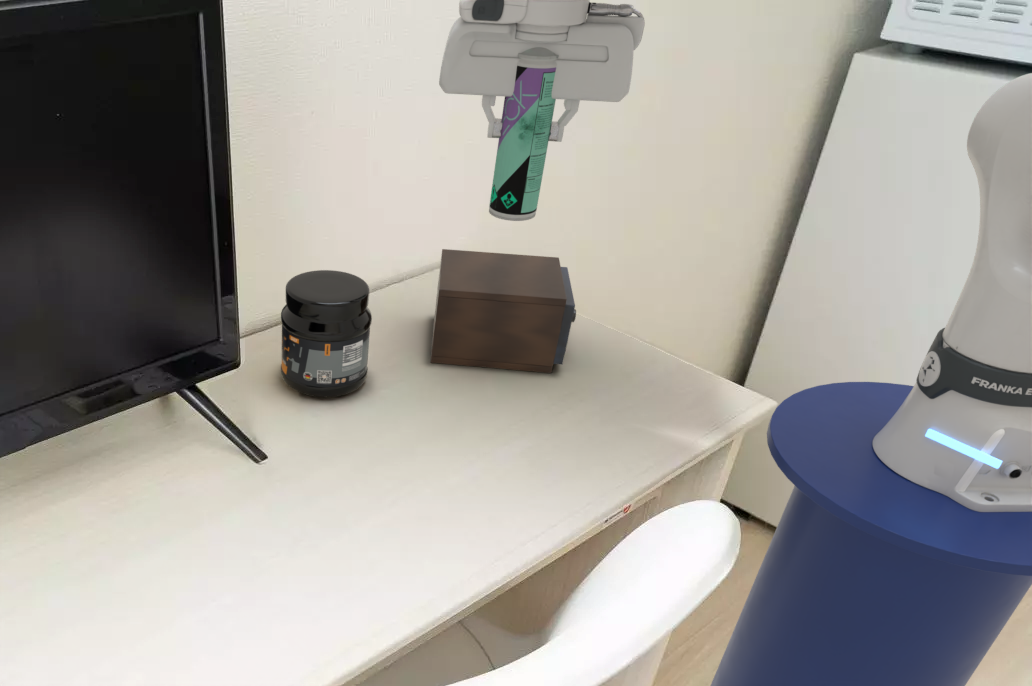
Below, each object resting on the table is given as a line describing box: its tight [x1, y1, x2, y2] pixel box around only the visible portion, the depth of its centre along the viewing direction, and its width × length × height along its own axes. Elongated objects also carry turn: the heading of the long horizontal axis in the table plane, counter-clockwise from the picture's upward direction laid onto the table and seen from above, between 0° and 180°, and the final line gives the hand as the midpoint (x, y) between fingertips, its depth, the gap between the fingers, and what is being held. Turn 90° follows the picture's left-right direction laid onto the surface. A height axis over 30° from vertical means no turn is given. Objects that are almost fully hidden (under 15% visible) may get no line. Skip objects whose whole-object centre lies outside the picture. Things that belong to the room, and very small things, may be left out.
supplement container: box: [280, 269, 373, 398], centre depth 109 cm, size 10×10×12 cm
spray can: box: [488, 47, 559, 222], centre depth 104 cm, size 6×6×20 cm
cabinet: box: [430, 248, 567, 374], centre depth 117 cm, size 15×13×10 cm
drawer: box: [553, 266, 577, 366], centre depth 117 cm, size 15×12×8 cm
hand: (523, 138), depth 105 cm, fingers closed on spray can, 5 cm apart
